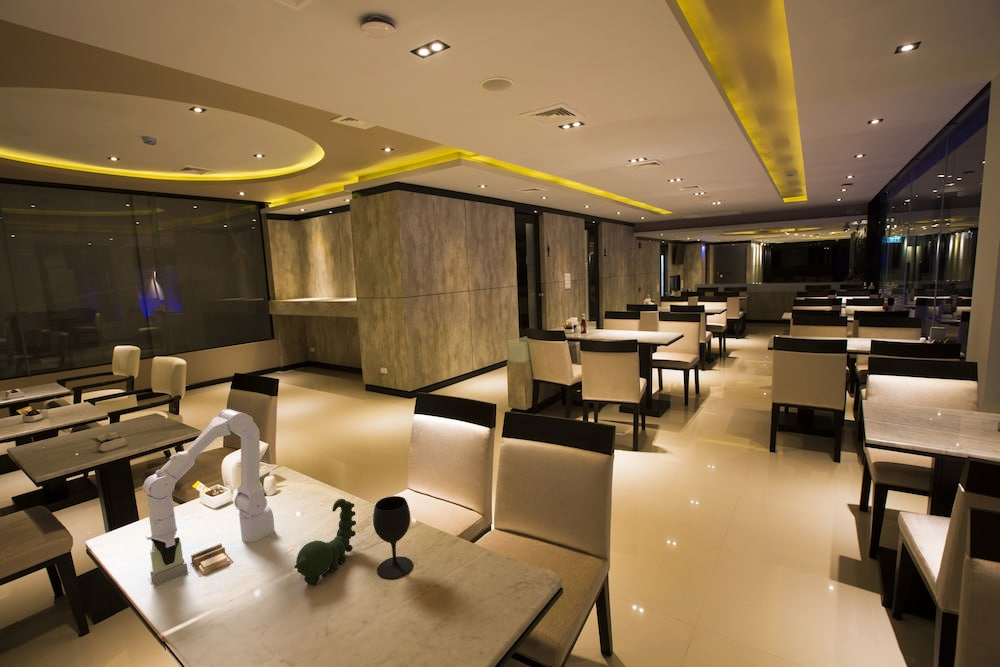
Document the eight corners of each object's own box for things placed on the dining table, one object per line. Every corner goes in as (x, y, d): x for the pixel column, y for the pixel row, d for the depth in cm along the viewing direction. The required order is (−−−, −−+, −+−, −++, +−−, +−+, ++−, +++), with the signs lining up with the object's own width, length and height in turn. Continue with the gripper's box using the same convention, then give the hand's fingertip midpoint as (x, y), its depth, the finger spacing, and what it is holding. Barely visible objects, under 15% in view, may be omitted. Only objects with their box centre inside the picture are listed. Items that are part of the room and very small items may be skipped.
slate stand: (185, 566, 139) (184, 555, 138) (190, 574, 135) (189, 563, 134) (148, 581, 132) (147, 570, 132) (153, 590, 128) (151, 579, 128)
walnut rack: (223, 552, 145) (222, 542, 145) (234, 564, 139) (233, 554, 138) (190, 565, 139) (188, 555, 139) (199, 579, 132) (198, 568, 132)
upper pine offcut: (223, 556, 140) (223, 552, 140) (227, 560, 138) (227, 557, 138) (200, 565, 136) (200, 562, 136) (204, 570, 134) (204, 567, 133)
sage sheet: (182, 568, 136) (179, 539, 135) (184, 570, 135) (180, 541, 134) (153, 580, 131) (150, 550, 130) (155, 582, 130) (151, 552, 129)
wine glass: (420, 562, 137) (416, 498, 135) (398, 583, 128) (394, 515, 125) (391, 554, 141) (387, 492, 139) (369, 574, 132) (364, 508, 130)
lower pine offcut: (225, 558, 141) (225, 555, 141) (229, 563, 138) (229, 560, 138) (199, 569, 136) (198, 565, 136) (203, 574, 133) (202, 571, 133)
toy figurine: (338, 550, 147) (280, 595, 123) (337, 491, 147) (279, 525, 123) (364, 554, 145) (310, 600, 121) (363, 494, 144) (309, 529, 120)
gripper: (139, 513, 133) (145, 557, 135) (150, 530, 124) (156, 578, 125) (168, 504, 138) (174, 546, 140) (181, 520, 129) (187, 565, 130)
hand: (167, 560), depth 133 cm, fingers open, 3 cm apart
